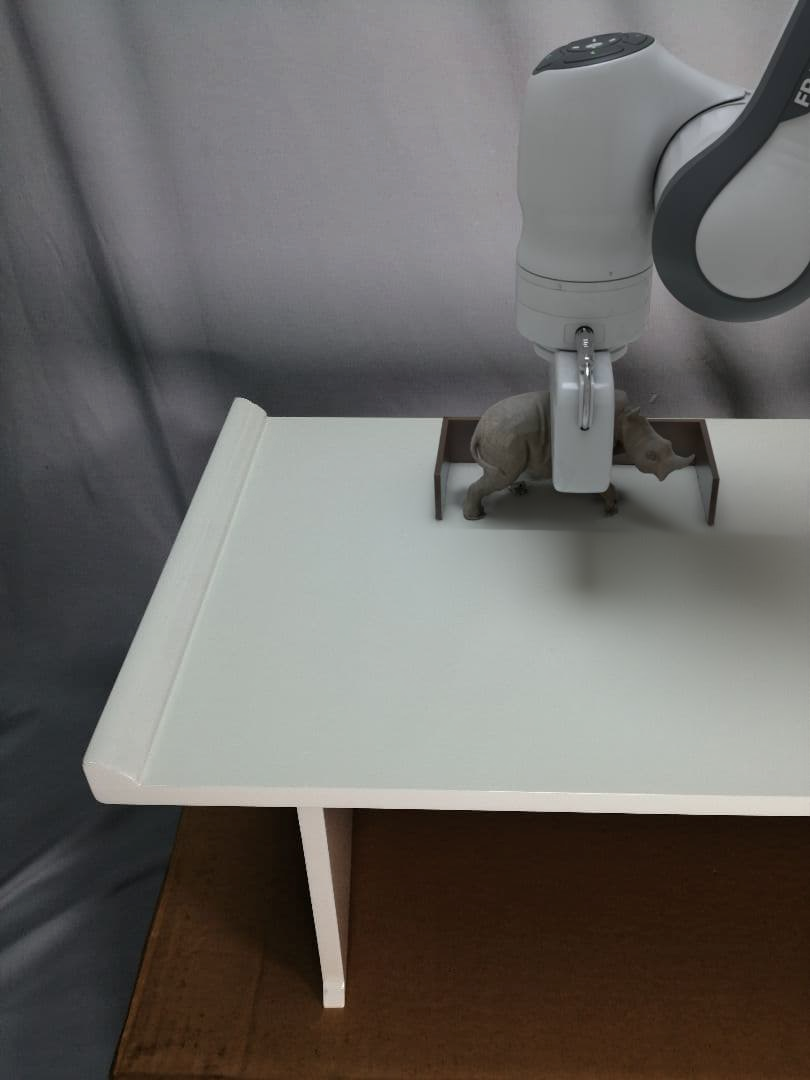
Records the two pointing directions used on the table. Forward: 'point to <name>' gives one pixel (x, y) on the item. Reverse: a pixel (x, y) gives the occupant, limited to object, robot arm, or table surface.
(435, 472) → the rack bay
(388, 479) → the table surface
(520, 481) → the rhinoceros figurine
